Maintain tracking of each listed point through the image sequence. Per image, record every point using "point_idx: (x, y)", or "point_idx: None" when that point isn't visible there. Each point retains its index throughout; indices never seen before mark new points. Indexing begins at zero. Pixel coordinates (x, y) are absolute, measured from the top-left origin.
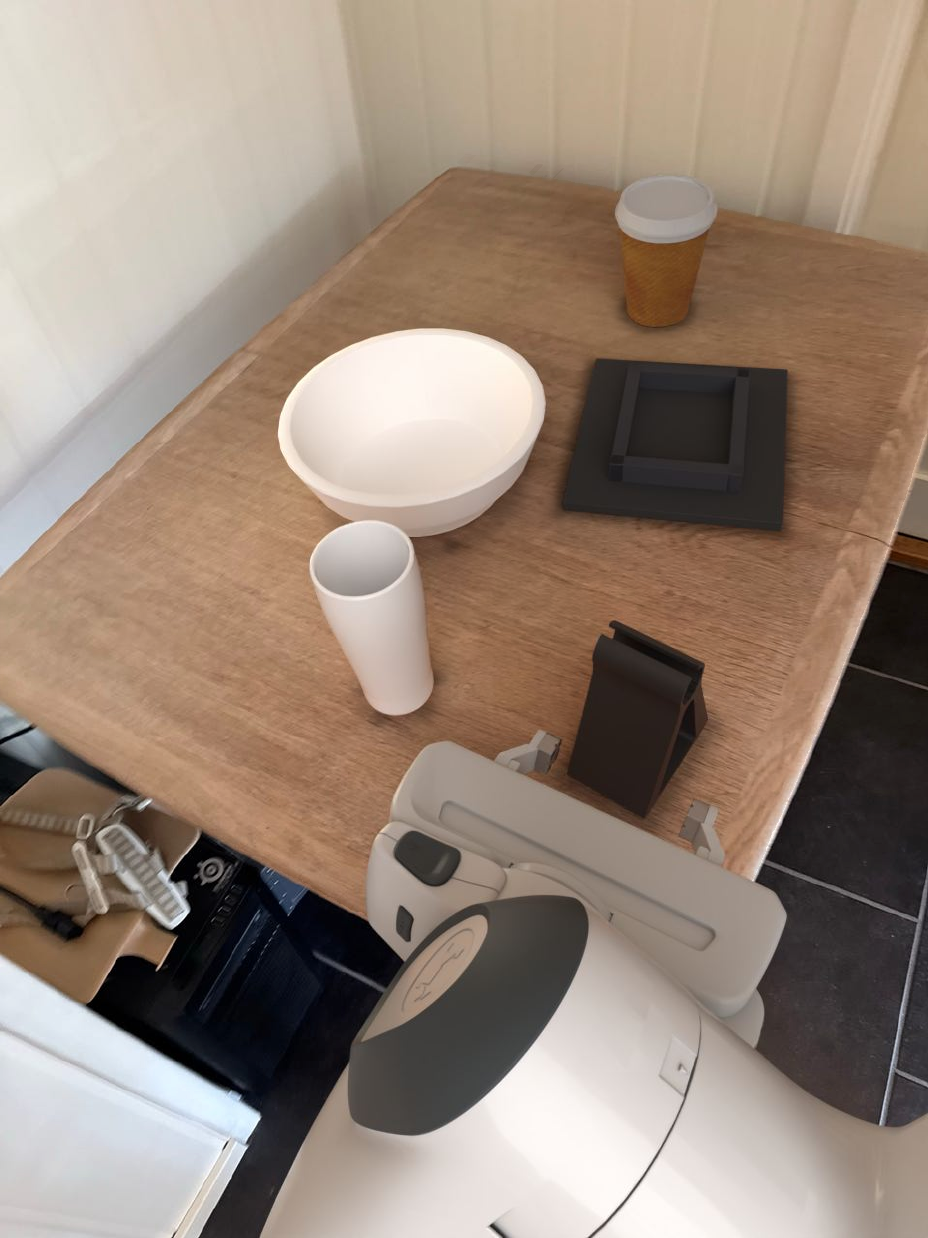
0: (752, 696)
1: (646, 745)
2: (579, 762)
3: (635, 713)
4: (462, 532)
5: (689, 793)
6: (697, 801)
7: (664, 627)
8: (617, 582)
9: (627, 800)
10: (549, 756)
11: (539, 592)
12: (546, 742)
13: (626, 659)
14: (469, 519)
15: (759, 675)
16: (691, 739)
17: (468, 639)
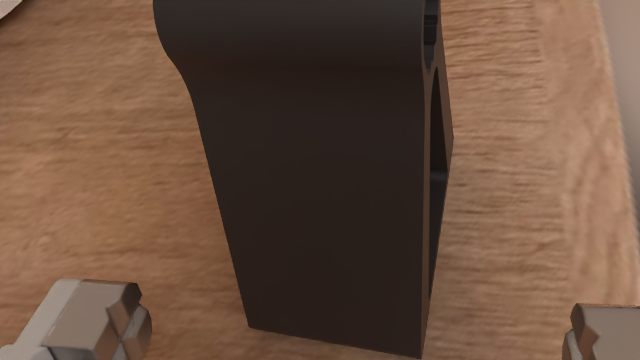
0: (503, 79)
1: (373, 212)
2: (259, 299)
3: (321, 149)
4: (9, 29)
5: (479, 273)
6: (599, 312)
7: None
8: None
9: (376, 336)
10: (92, 355)
11: (134, 61)
12: (76, 313)
13: (239, 4)
14: (6, 3)
15: (497, 47)
16: (441, 178)
17: (37, 165)
